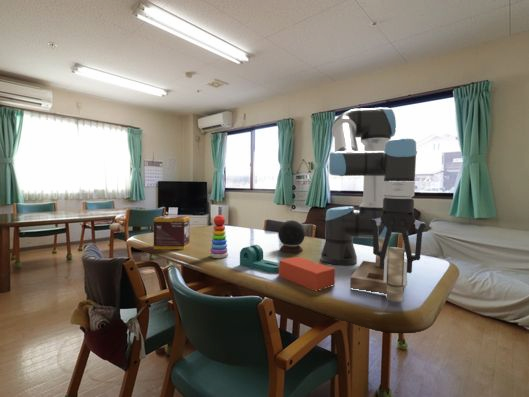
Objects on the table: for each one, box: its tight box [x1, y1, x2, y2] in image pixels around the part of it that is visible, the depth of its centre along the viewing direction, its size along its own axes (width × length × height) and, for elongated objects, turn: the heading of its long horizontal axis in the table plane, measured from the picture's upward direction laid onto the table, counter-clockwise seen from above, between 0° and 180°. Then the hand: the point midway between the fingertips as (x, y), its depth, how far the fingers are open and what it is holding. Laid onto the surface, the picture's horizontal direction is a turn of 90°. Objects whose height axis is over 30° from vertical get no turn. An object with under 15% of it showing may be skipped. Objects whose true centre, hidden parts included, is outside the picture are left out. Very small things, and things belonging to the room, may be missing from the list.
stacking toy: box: [210, 214, 229, 259], centre depth 125 cm, size 8×8×19 cm
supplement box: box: [153, 215, 191, 250], centre depth 142 cm, size 10×15×16 cm
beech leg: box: [386, 246, 406, 303], centre depth 76 cm, size 4×4×14 cm
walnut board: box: [349, 238, 390, 294], centre depth 93 cm, size 14×22×14 cm, turn 151°
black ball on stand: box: [277, 220, 306, 254], centre depth 138 cm, size 13×13×15 cm
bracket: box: [239, 244, 279, 274], centre depth 109 cm, size 18×7×8 cm, turn 53°
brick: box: [278, 256, 336, 291], centre depth 95 cm, size 18×9×6 cm, turn 37°
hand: (395, 282), depth 76 cm, fingers closed on beech leg, 4 cm apart
